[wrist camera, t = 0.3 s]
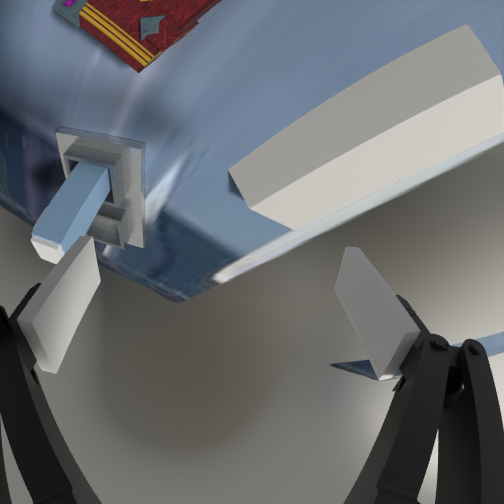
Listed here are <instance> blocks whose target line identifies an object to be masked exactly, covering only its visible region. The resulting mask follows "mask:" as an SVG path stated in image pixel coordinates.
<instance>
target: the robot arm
mask: <svg viewBox="0 0 504 504" xmlns="http://www.w3.org/2000/svg"><path fill="white" fill-rule="evenodd" d="M99 283H100V276H99V271H98V265H97V260H96V254H95V248H94V241H93V236H80V237H79V238H78V239H77V240H76V241H75V242H74V244H73V245H72V246H71V247H70V248H69V250H68V251H67V252H66V253H65V255H64V256H63V257H62V258H61V259H60V261H59V262H58V263H57V264H56V266H55V267H54V268H53V270H52V271H51V272H50V274H49V275H48V276H47V277H46V279H45V280H44V281H43V283H38V284H36V285H35V286H34V287H32V288H31V289H30V290H29V291H28V293H27V294H26V295H25V298H23V299H22V301H21V303H20V304H19V305H18V306H17V308H16V309H15V311H14V312H13V313H12V315H11V316H10V318H8V316H7V313H6V311H5V309H4V307H2V306H0V413H1V417H2V420H3V424H4V428H5V431H6V434H7V437H8V440H9V443H10V446H11V449H12V452H13V455H14V458H15V460H16V463H17V465H18V468H19V470H20V472H21V475H22V478H23V480H24V482H25V485H26V487H27V489H28V491H29V493H30V496H31V497H32V500H33V504H102V503H101V502H100V500H99V499H98V497H97V496H96V494H95V493H94V491H93V490H92V488H91V487H90V485H89V484H88V482H87V480H86V478H85V477H84V475H83V473H82V472H81V470H80V468H79V467H78V465H77V463H76V461H75V459H74V458H73V456H72V454H71V452H70V451H69V448H68V446H67V444H66V442H65V440H64V438H63V436H62V434H61V432H60V430H59V428H58V426H57V424H56V422H55V419H54V417H53V415H52V412H51V410H50V408H49V405H48V403H47V400H46V398H45V395H44V393H43V390H42V387H41V385H40V382H39V379H38V376H37V373H36V371H35V370H34V368H33V367H34V365H35V363H36V361H37V362H38V364H39V366H40V368H41V370H43V371H47V372H52V373H57V371H58V368H59V366H60V364H61V361H62V359H63V357H64V355H65V352H66V350H67V348H68V346H69V343H70V341H71V339H72V337H73V335H74V333H75V330H76V328H77V326H78V324H79V322H80V320H81V318H82V316H83V314H84V312H85V310H86V308H87V306H88V304H89V302H90V300H91V298H92V296H93V295H94V293H95V291H96V289H97V287H98V285H99ZM334 290H335V292H336V294H337V296H338V298H339V300H340V302H341V304H342V306H343V308H344V310H345V311H346V314H347V315H348V317H349V319H350V322H351V323H352V326H353V328H354V330H355V332H356V334H357V335H358V338H359V340H360V342H361V344H362V346H363V348H364V350H365V352H366V354H367V356H368V358H369V360H370V362H371V365H372V367H373V369H374V371H375V373H376V375H377V377H378V379H379V380H384V379H389V378H394V376H395V374H396V373H397V371H398V370H399V369H400V370H401V372H402V374H403V375H402V377H401V378H400V380H399V381H398V383H397V384H396V386H395V387H394V389H393V391H395V390H396V391H395V394H394V397H393V400H392V402H391V405H390V407H389V410H388V413H387V415H386V418H385V420H384V423H383V425H382V428H381V430H380V432H379V435H378V437H377V439H376V441H375V444H374V446H373V448H372V450H371V453H370V454H369V457H368V459H367V461H366V463H365V465H364V467H363V469H362V471H361V473H360V475H359V477H358V479H357V480H356V482H355V484H354V486H353V488H352V490H351V491H350V493H349V495H348V497H347V498H346V500H345V502H344V504H420V503H419V502H418V501H417V497H418V494H419V491H420V488H421V485H422V482H423V479H424V476H425V473H426V470H427V467H428V464H429V461H430V457H431V454H432V450H433V446H434V442H435V439H436V435H437V430H438V433H439V434H438V442H439V443H438V474H437V475H438V476H437V489H436V499H435V504H504V429H503V423H502V417H501V412H500V406H499V402H498V397H497V392H496V388H495V384H494V380H493V375H492V372H491V368H490V364H489V361H488V357H487V354H486V351H485V349H484V347H483V346H482V345H481V343H479V342H478V341H476V340H473V339H467V340H465V341H464V343H463V344H462V346H461V347H455V346H450V345H449V343H448V342H447V340H446V339H445V338H443V337H441V336H440V335H437V334H430V332H429V331H428V329H427V328H426V326H425V325H424V324H423V322H422V321H421V320H420V319H419V317H418V316H417V315H416V313H415V311H414V310H412V307H411V306H410V305H409V303H408V302H407V301H406V300H405V299H403V298H402V297H401V296H400V295H395V294H394V293H393V292H392V290H391V289H390V287H389V286H388V285H387V284H386V282H385V281H384V280H383V278H382V277H381V276H380V274H379V273H378V272H377V270H376V269H375V268H374V267H373V265H372V264H371V263H370V261H369V260H368V259H367V258H366V256H365V255H364V254H363V253H362V251H361V250H360V249H359V248H358V247H346V248H345V252H344V256H343V260H342V264H341V267H340V271H339V274H338V278H337V282H336V285H335V289H334ZM463 386H464V389H463ZM0 504H12V502H11V498H10V494H9V489H8V483H7V478H6V472H5V465H4V458H3V449H2V439H1V424H0Z"/></svg>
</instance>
